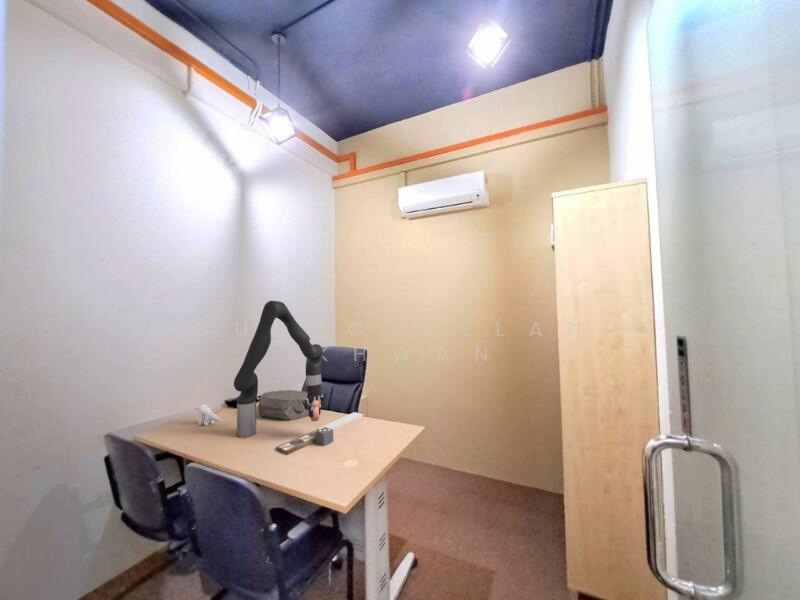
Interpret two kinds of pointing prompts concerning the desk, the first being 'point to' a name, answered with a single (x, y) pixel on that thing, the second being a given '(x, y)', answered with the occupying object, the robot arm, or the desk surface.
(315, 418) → the pawn
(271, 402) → the stone
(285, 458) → the desk surface
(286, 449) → the game strip
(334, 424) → the baseboard
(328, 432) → the die
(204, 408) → the white dinosaur figurine
